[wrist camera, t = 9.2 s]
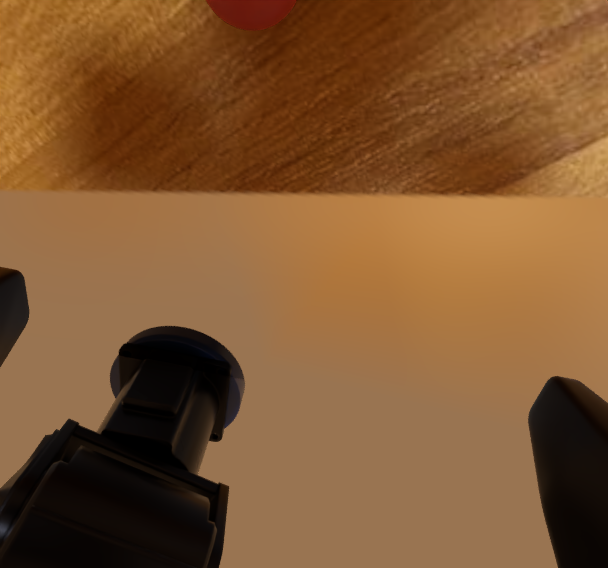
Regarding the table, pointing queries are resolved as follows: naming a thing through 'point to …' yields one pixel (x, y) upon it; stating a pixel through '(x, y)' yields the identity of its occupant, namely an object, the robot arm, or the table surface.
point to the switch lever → (252, 12)
